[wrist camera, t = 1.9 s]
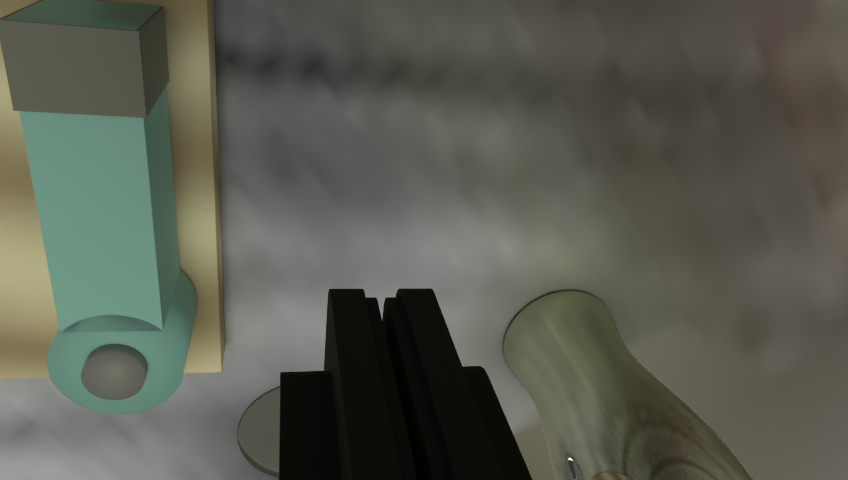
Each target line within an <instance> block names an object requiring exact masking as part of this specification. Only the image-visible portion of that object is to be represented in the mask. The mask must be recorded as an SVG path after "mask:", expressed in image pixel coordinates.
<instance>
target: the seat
mask: <svg viewBox="0 0 848 480" xmlns="http://www.w3.org/2000/svg"><path fill="white" fill-rule="evenodd" d="M37 1H39V0H0V18H1V17H3V16H6V15H8V14H10V13H12V12H15V11H17V10H19V9H21V8H23V7H26V6H28V5H30V4H32V3H35V2H37ZM93 1H104V2H115V3H126V4H137V5H148V6H159V7H164V13H165V27H166V42H167V56H168V70H169V82H168V83H167V85H166V86H167V100H168V113H169V127H170V141H171V155H172V169H173V183H174V197H175V210H176V224H177V238H178V252H179V266H180V271H181V272H182V273H184V274H185V276H186V277H187V278H188V279H189V280H190V282H191V283H192V285H193V287H194V289H195V292H196V295H197V301H198V304H197V312H196V317H195V322H194V326H193V331H192V336H191V341H190V345H189V350H188V355H187V359H186V364H185V369H184V373H208V372H222V365H223V358H224V350H225V322H224V294H223V266H222V237H221V209H220V181H219V152H218V124H217V95H216V67H215V39H214V10H213V0H93ZM58 330H59V324H58V318H57V313H56V308H55V302H54V297H53V291H52V286H51V281H50V275H49V270H48V264H47V259H46V254H45V248H44V243H43V237H42V232H41V227H40V221H39V216H38V211H37V205H36V200H35V194H34V189H33V184H32V178H31V173H30V167H29V162H28V157H27V151H26V146H25V140H24V135H23V130H22V124H21V119H20V114H19V111H13V106H12V101H11V95H10V90H9V85H8V80H7V74H6V69H5V64H4V59H3V53H2V48H1V43H0V379H14V378H46V377H50V376H49V372H48V369H47V354H48V350H49V347H50V345H51V343H52V341H53V339H54V337H55V336H56V334H57V332H58Z"/></svg>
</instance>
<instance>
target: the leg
mask: <svg viewBox="0 0 848 480" xmlns="http://www.w3.org/2000/svg"><path fill="white" fill-rule="evenodd" d="M0 43H1V48H2V53H3V59H4V64H5V69H6V74H7V80H8V85H9V90H10V95H11V101H12V106H13V111H19V114H20V119H21V124H22V130H23V135H24V140H25V146H26V151H27V157H28V162H29V167H30V173H31V178H32V184H33V189H34V194H35V200H36V205H37V211H38V216H39V221H40V227H41V232H42V237H43V243H44V248H45V254H46V259H47V264H48V270H49V275H50V281H51V286H52V291H53V297H54V302H55V308H56V313H57V318H58V324H59V330H58V332H57V334H56V336H55V337H54V339H53V341H52V343H51V345H50V347H49V350H48V354H47V369H48V372H49V376H50V378H51V380H52V382H53V383H54V384H55V386H56V387H57V388H58V389H59V391H60V392H61V393H62V394H64V395H65V396H66V397H67V398H69V399H70V400H72V401H73V402H75V403H77V404H79V405H81V406H83V407H86V408H88V409H91V410H95V411H98V412H104V413H112V414H128V413H135V412H141V411H144V410H148V409H150V408H153V407H155V406H157V405H159V404H161V403H162V402H164V401H165V400H167V399H168V398H169V397H170V396H171V395H172V394H173V393H174V392H175V391H176V390H177V388H178V386H179V385H180V383H181V380H182V378H183V374H184V369H185V364H186V359H187V355H188V350H189V345H190V341H191V336H192V331H193V326H194V322H195V317H196V312H197V304H198V301H197V295H196V292H195V289H194V287H193V285H192V283H191V282H190V280H189V279H188V278H187V277H186V276H185V274H184V273H182V272H181V271H180V266H179V252H178V238H177V224H176V210H175V197H174V183H173V169H172V155H171V141H170V127H169V113H168V100H167V86H166V85H167V83H168V82H169V70H168V56H167V42H166V27H165V13H164V7H159V6H148V5H137V4H126V3H115V2H104V1H93V0H39V1H37V2H35V3H32V4H30V5H28V6H26V7H23V8H21V9H19V10H17V11H15V12H12V13H10V14H8V15H6V16H3V17H1V18H0Z"/></svg>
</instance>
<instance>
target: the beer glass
mask: <svg viewBox="0 0 848 480" xmlns="http://www.w3.org/2000/svg"><path fill="white" fill-rule="evenodd" d="M503 351H504V357H505V361H506V363H507V365H508V367H509V369H510V370H511V372H512V373H513V374H514V376H515V377H516V378H517V379H518V381H519V382H520V383H521V384H522V385H523V387H524V388H525V389H526V390H527V392H528V393H529V395H530V396H531V398H532V400H533V402H534V404H535V406H536V408H537V411H538V413H539V416H540V419H541V423H542V427H543V430H544V434H545V438H546V443H547V447H548V452H549V456H550V460H551V464H552V468H553V472H554V476H555V480H753V478H752V477H751V476H750V475H749V473H748V472H747V471H746V469H745V468H744V466H743V465H742V464H741V462H740V461H739V460H738V458H737V457H736V456H735V455H734V454H733V452H732V451H731V450H730V449H729V448H728V447H727V445H726V444H725V443H724V442H723V441H722V439H721V438H720V437H719V436H718V435H717V434H716V432H715V431H714V430H713V429H712V428H711V427H710V426H708V425H707V423H706V422H705V421H704V420H703V419H701V418H700V416H698V415H697V414H696V413H695V412H694V411H693V410H692V409H691V408H690V407H689V406H688V405H687V404H686V403H685V402H684V401H682V400H681V399H680V398H679V397H678V396H677V395H676V394H675V393H673V392H672V391H671V390H670V389H669V388H668V387H667V386H665V385H664V384H663V383H662V382H660V380H658V379H657V378H656V377H655V376H654V375H653V374H652V373H650V372H649V371H648V370H647V369H646V368H645V367H644V366H643V365H642V364H641V363H640V362H639V361H638V360H637V359H636V358H635V357H634V356H633V355H632V354H631V352H630V351H629V350H628V348H627V347H626V345H625V344H624V342H623V340H622V338H621V336H620V334H619V331H618V329H617V327H616V324H615V322H614V320H613V317H612V315H611V313H610V312H609V310H608V308H607V307H606V306H605V305H604V303H603V302H601V301H600V300H599V299H598V298H596V297H594V296H593V295H590V294H588V293H585V292H580V291H560V292H555V293H552V294H549V295H546V296H543V297H541V298H539V299H537V300H535V301H534V302H532V303H531V304H529V305H528V306H526V307H525V308H524V309H523V310H522V311H521V312H520V313H519V314H518V315H517V316H516V317H515V318H514V320H513V321H512V322H511V324H510V326H509V328H508V330H507V332H506V335H505V338H504V344H503Z"/></svg>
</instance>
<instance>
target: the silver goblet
mask: <svg viewBox="0 0 848 480" xmlns="http://www.w3.org/2000/svg"><path fill="white" fill-rule="evenodd" d="M237 436H238V444H239V447H240V450H241V452H242V453H243V455H244V457H245V458H246V459H247V460H248V461H249V462H250V463H251V465H253V466H254V467H255V468H257V469H258V470H260V471H262V472H264V473H266V474H268V475H271V476H274V477H277V478H279V436H280V387H277V388H275V389H273V390H271V391H269V392H267V393H265V394H264V395H262V396H261V397H259V398H258V399H257V400H255V401H254V402H253V403H252V404H251V405H250V406H249V407H248V409H247V410H246V412H245V413H244V414H243V416H242V418H241V421H240V423H239V427H238V432H237Z"/></svg>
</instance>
